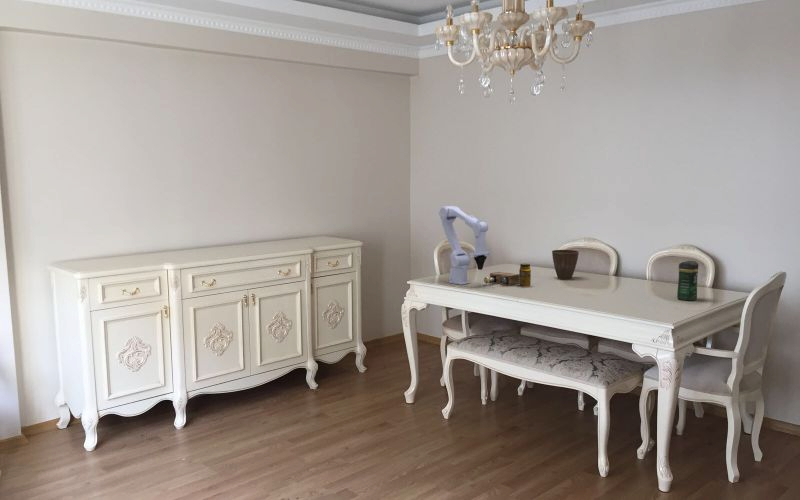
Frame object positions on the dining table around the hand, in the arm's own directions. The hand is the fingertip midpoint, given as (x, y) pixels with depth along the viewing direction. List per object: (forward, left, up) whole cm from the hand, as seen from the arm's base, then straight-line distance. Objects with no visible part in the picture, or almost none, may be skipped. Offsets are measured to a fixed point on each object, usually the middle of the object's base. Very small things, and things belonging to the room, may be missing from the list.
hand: (480, 269), depth 359 cm
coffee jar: (+95, +39, -10) cm, 103 cm away
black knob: (+8, +14, -8) cm, 18 cm away
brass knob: (0, +10, -8) cm, 13 cm away
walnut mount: (+4, +16, -9) cm, 19 cm away
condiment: (+16, +17, -10) cm, 25 cm away
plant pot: (+19, +53, -10) cm, 57 cm away
